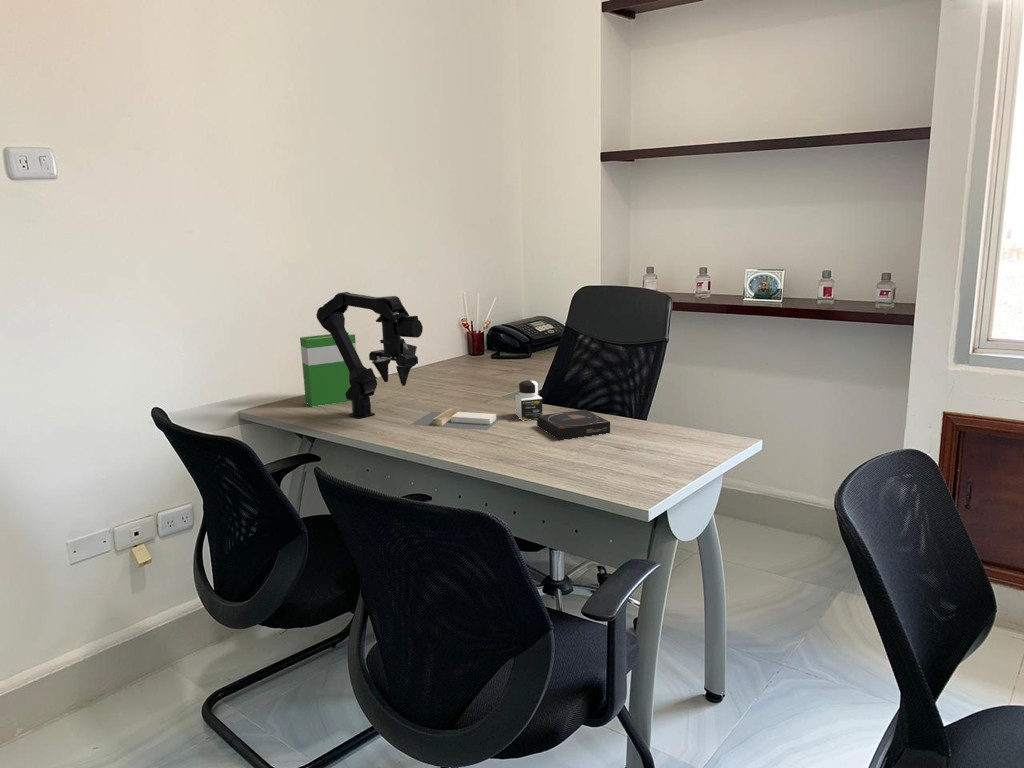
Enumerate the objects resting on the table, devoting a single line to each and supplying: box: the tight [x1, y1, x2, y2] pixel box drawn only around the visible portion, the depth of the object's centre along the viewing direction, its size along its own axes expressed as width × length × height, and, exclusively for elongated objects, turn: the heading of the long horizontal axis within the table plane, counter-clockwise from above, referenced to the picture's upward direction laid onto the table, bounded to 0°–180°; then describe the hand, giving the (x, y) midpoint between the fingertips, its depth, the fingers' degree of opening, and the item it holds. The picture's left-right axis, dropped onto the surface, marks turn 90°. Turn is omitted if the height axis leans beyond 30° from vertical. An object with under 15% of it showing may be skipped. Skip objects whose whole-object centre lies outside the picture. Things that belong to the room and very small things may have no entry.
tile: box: [451, 411, 497, 425], centre depth 244 cm, size 2×6×13 cm
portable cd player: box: [536, 409, 611, 441], centre depth 234 cm, size 16×17×4 cm
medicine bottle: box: [514, 379, 544, 421], centre depth 248 cm, size 7×7×12 cm
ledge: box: [433, 407, 460, 426], centre depth 247 cm, size 3×14×2 cm, turn 161°
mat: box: [410, 411, 505, 431], centre depth 246 cm, size 26×16×1 cm, turn 71°
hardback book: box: [299, 331, 357, 407], centre depth 275 cm, size 18×7×24 cm, turn 122°
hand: (394, 383), depth 248 cm, fingers open, 9 cm apart
